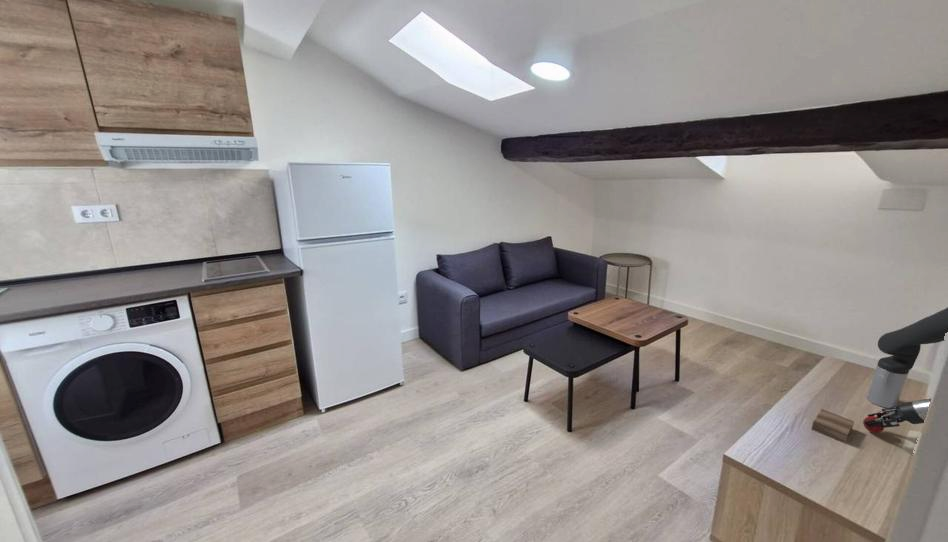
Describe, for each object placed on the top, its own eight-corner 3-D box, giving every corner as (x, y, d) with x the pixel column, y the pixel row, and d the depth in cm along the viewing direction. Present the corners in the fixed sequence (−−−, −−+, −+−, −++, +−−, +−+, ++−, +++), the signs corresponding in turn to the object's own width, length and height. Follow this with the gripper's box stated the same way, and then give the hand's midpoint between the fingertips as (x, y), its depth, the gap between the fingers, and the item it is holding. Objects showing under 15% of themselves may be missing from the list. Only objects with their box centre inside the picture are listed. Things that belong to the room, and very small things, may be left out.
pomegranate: (885, 437, 147) (891, 421, 145) (868, 436, 148) (873, 419, 146) (873, 427, 152) (879, 411, 150) (857, 426, 154) (862, 410, 151)
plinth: (819, 416, 160) (821, 409, 158) (851, 429, 152) (854, 421, 151) (811, 429, 153) (813, 421, 152) (844, 443, 145) (847, 434, 144)
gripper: (916, 394, 143) (864, 404, 156) (910, 409, 135) (856, 419, 148) (933, 412, 140) (878, 422, 153) (928, 429, 132) (871, 438, 145)
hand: (867, 420), depth 150 cm, fingers closed on pomegranate, 5 cm apart
